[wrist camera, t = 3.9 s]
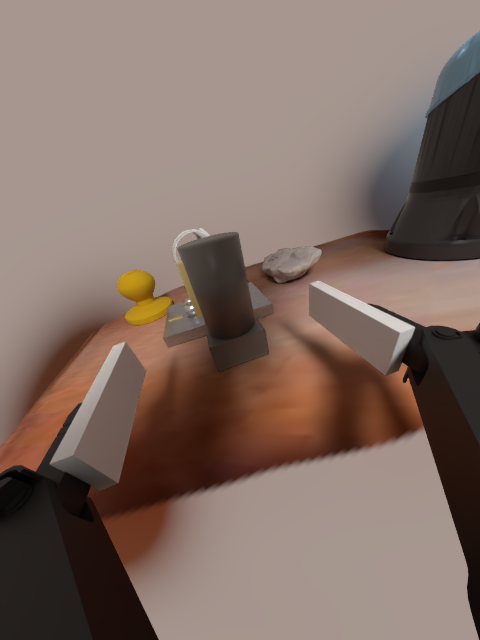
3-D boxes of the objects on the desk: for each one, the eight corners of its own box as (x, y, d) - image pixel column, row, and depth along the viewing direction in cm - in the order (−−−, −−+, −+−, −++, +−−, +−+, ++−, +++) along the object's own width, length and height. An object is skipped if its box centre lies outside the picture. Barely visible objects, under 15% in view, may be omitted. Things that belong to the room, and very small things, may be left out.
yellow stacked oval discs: (119, 322, 32) (156, 300, 37) (146, 329, 28) (182, 303, 33) (92, 282, 28) (137, 264, 33) (118, 283, 24) (165, 262, 29)
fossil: (290, 275, 26) (251, 243, 31) (285, 304, 31) (252, 272, 37) (334, 252, 28) (291, 225, 33) (322, 282, 34) (286, 256, 39)
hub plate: (252, 289, 31) (248, 269, 30) (273, 313, 24) (270, 287, 22) (172, 314, 30) (163, 294, 28) (168, 347, 22) (154, 323, 20)
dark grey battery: (252, 326, 22) (232, 229, 17) (269, 353, 18) (249, 234, 12) (209, 340, 22) (173, 245, 16) (215, 372, 17) (168, 256, 12)
